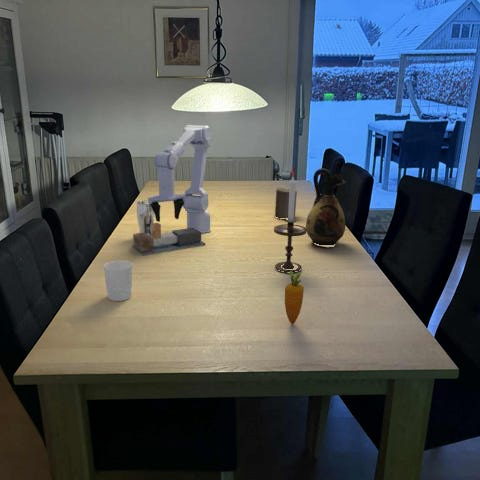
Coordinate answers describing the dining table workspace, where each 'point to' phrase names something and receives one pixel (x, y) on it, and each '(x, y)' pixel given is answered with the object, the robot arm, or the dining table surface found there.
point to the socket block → (143, 242)
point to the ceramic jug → (326, 212)
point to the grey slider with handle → (162, 236)
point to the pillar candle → (283, 202)
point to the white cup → (118, 280)
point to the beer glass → (145, 217)
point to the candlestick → (290, 230)
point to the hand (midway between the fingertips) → (167, 219)
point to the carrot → (293, 298)
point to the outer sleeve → (185, 239)
